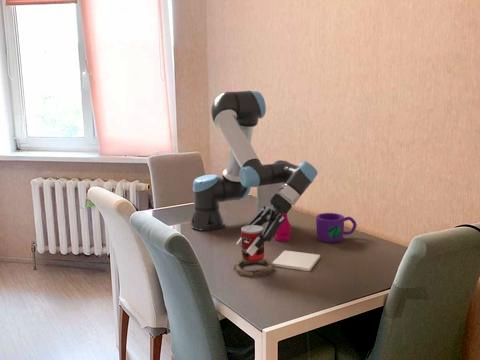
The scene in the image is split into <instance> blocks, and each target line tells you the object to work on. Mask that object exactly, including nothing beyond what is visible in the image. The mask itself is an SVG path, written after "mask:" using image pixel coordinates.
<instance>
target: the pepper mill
mask: <svg viewBox="0 0 480 360" xmlns="http://www.w3.org/2000/svg"><path fill="white" fill-rule="evenodd" d="M282 216H283V217H284V218H285V221H284V222H283V223H282V224H281V225H280V227H279V228H278V230H277V231H276V233H275V234H274V239H275V241H277V242H288V241H290V240H291V232H292V226H291V224H290V221H289V219H288V213H287V214H284V213H283V214H282Z"/></svg>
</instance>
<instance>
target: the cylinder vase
mask: <svg viewBox="0 0 480 360" xmlns="http://www.w3.org/2000/svg"><path fill="white" fill-rule="evenodd" d="M283 184H284V183H277V184H269V185H263V186H257V187H256V194H257V195H256V199H257V201H256V203H257V206H256V207H257V213H258V212H259V211H260V210H261V208H262V207H263V206H265V207H267V208H268V207H269V206H270V205H271V202H270V200H271V199H272V197H273V196H274V195H275V194H278V193H277V191H278V190H279V189H280V188H281V186H282V185H283ZM266 223H267V222H265V223H264V224H263V225H261V226H262V227H263V228H264V227H265V225H266Z"/></svg>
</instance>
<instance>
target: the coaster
mask: <svg viewBox="0 0 480 360" xmlns="http://www.w3.org/2000/svg"><path fill="white" fill-rule="evenodd" d="M320 258H321V254H318V253H317V254H316V253H309V252H308V253H307V252H299V251H293V250H283V252H281V253H280V254H279V256H278V257H277V258H275V259H274V260H273V261H272V263H273V264H274V267H279V268H284V269H290V270H299V271H304V272H305V271H306V272H310V271H311V270H312V269H313V268H314V266H315V265H316V263H317V262H318V261H319V259H320Z"/></svg>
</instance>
